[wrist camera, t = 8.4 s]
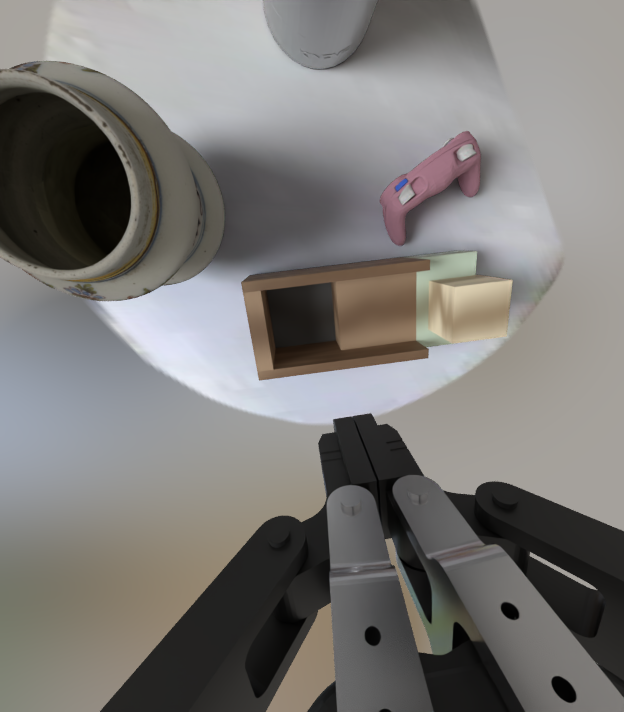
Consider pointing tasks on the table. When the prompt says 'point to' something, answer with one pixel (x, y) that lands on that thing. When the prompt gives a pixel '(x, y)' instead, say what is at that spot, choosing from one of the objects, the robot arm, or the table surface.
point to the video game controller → (431, 181)
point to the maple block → (469, 308)
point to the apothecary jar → (99, 186)
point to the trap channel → (346, 313)
